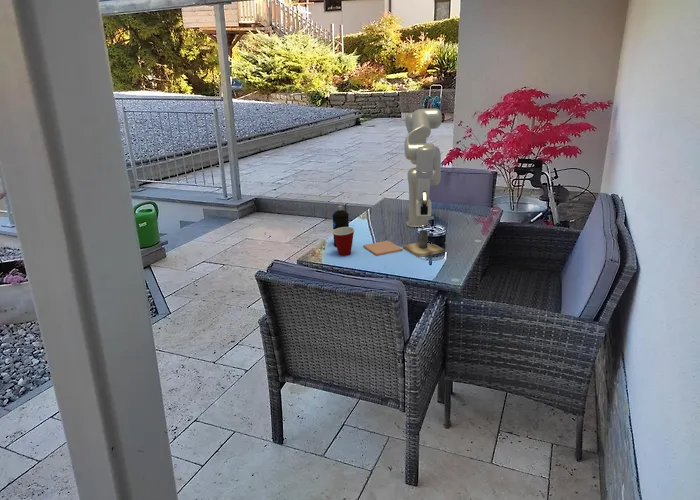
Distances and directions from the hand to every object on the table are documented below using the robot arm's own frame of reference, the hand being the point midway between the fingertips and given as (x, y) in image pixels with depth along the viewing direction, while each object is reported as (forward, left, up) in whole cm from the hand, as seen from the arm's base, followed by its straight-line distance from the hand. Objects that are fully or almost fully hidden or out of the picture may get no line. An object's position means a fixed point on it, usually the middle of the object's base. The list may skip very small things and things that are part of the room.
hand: (423, 211), depth 235 cm
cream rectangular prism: (0, 0, -1) cm, 1 cm away
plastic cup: (+35, -14, -19) cm, 42 cm away
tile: (+16, -11, -19) cm, 27 cm away
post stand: (0, 0, -19) cm, 19 cm away
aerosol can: (+31, -26, -19) cm, 45 cm away
